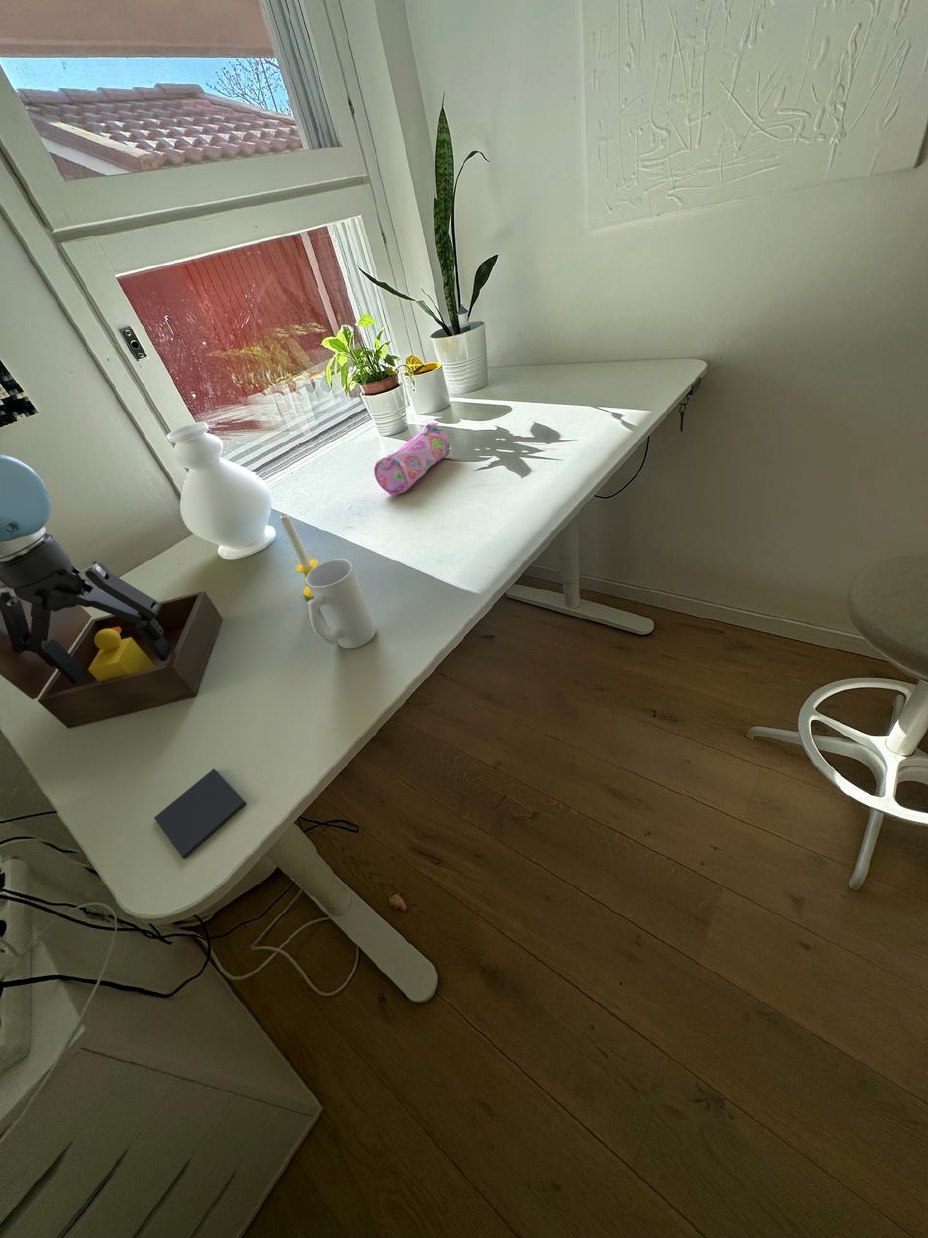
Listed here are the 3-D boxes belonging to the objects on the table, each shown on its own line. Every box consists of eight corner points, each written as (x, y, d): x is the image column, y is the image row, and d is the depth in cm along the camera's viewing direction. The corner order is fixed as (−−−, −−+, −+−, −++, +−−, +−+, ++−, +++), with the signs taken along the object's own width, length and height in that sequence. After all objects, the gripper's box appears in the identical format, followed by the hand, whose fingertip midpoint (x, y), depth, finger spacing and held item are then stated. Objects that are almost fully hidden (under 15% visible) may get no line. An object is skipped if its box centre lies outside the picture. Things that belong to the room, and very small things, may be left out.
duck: (118, 702, 78) (73, 654, 71) (134, 670, 83) (93, 623, 77) (147, 695, 78) (104, 646, 71) (161, 664, 83) (122, 616, 77)
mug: (351, 618, 84) (324, 556, 76) (385, 623, 81) (361, 560, 74) (314, 661, 78) (281, 599, 70) (350, 669, 75) (319, 605, 67)
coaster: (184, 859, 56) (181, 857, 56) (156, 819, 61) (153, 817, 61) (246, 803, 60) (244, 801, 60) (215, 770, 65) (213, 768, 65)
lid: (-15, 511, 74) (-20, 513, 74) (-107, 584, 60) (-113, 586, 60) (91, 616, 87) (87, 618, 87) (37, 698, 73) (32, 699, 73)
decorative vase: (282, 513, 121) (231, 404, 105) (293, 545, 108) (236, 426, 92) (206, 540, 118) (142, 433, 102) (207, 577, 104) (133, 459, 89)
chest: (223, 618, 92) (204, 590, 88) (196, 696, 77) (172, 666, 73) (114, 646, 92) (91, 619, 88) (67, 729, 77) (37, 701, 73)
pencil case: (426, 455, 131) (417, 419, 125) (457, 455, 126) (449, 419, 120) (377, 496, 117) (365, 458, 112) (410, 499, 113) (398, 460, 107)
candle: (321, 578, 95) (286, 502, 86) (338, 585, 92) (304, 507, 83) (298, 594, 93) (260, 518, 83) (315, 602, 90) (277, 524, 80)
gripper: (125, 508, 67) (209, 629, 80) (-61, 556, 67) (53, 669, 80) (102, 536, 61) (197, 662, 74) (-101, 589, 61) (29, 705, 75)
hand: (123, 666), depth 77 cm, fingers open, 13 cm apart
